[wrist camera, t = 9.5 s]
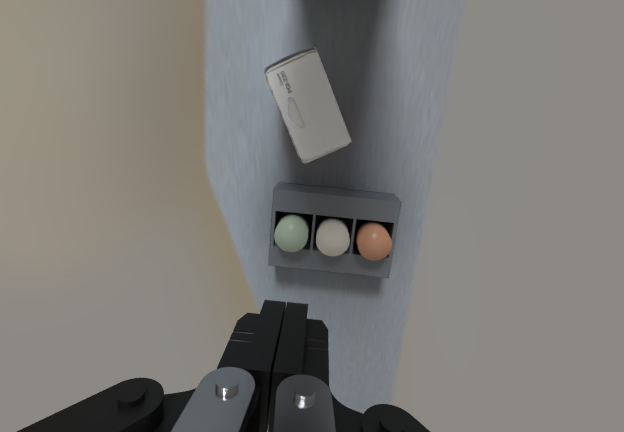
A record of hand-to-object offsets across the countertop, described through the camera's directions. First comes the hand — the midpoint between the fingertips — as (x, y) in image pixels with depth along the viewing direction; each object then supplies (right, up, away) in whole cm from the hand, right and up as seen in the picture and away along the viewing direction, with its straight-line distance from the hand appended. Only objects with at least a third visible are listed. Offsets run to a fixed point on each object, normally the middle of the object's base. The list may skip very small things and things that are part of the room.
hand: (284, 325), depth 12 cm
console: (+3, +3, +32) cm, 32 cm away
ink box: (+1, +16, +29) cm, 33 cm away
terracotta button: (+8, +1, +29) cm, 30 cm away
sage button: (-1, +2, +29) cm, 29 cm away
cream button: (+3, +2, +29) cm, 29 cm away
